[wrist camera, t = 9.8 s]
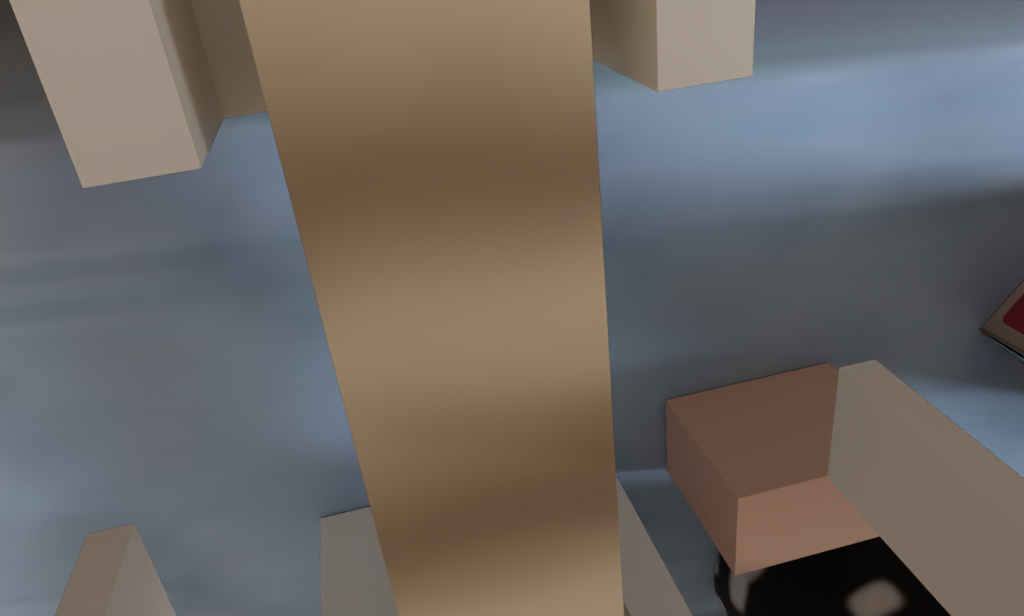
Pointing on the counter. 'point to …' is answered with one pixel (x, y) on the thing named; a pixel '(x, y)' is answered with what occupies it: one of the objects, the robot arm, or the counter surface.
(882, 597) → the spotted tube
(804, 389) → the plain brown rectangular block
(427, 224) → the birch slat
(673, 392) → the counter surface
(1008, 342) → the juice carton
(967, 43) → the counter surface
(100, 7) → the end caps
